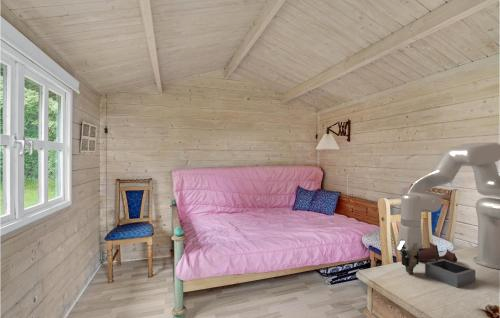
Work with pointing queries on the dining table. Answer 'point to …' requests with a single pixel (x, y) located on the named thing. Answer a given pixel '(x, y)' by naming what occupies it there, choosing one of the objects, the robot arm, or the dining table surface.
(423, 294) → the dining table surface
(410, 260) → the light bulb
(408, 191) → the robot arm
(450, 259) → the dark brown lumpy piece
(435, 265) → the frame
